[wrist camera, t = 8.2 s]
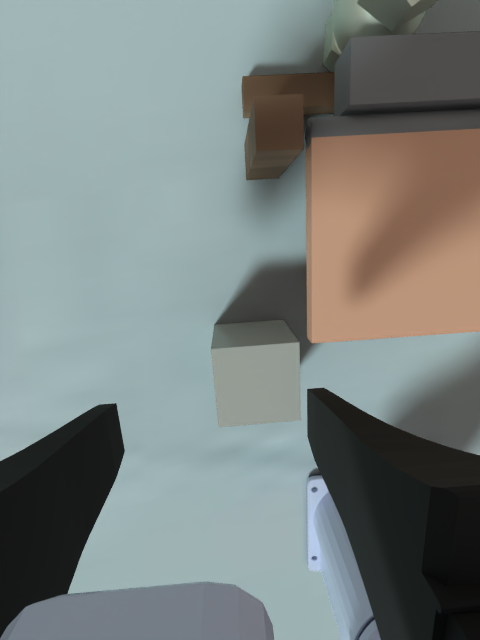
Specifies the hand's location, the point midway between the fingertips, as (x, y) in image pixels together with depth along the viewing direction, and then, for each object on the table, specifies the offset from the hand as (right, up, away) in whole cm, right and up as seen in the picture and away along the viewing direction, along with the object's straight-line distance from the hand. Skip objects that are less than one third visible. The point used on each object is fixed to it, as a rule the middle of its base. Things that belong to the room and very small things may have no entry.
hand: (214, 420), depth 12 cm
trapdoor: (+9, +10, +5) cm, 14 cm away
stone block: (+2, +1, +11) cm, 11 cm away
